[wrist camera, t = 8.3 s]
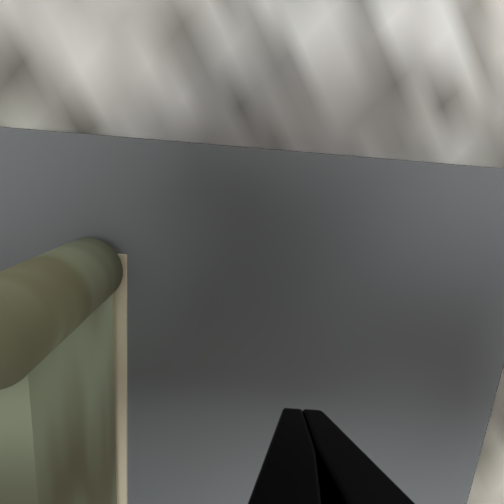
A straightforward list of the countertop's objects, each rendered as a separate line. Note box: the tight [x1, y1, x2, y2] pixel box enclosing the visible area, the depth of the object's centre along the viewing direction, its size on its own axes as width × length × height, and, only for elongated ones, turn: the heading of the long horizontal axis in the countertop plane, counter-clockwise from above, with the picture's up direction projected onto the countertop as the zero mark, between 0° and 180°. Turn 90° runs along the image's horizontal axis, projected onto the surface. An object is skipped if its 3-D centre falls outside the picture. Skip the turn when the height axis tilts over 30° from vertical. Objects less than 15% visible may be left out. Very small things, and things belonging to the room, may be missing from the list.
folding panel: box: [0, 238, 123, 504], centre depth 9 cm, size 10×2×4 cm, turn 176°
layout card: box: [0, 127, 504, 504], centre depth 12 cm, size 25×19×1 cm
